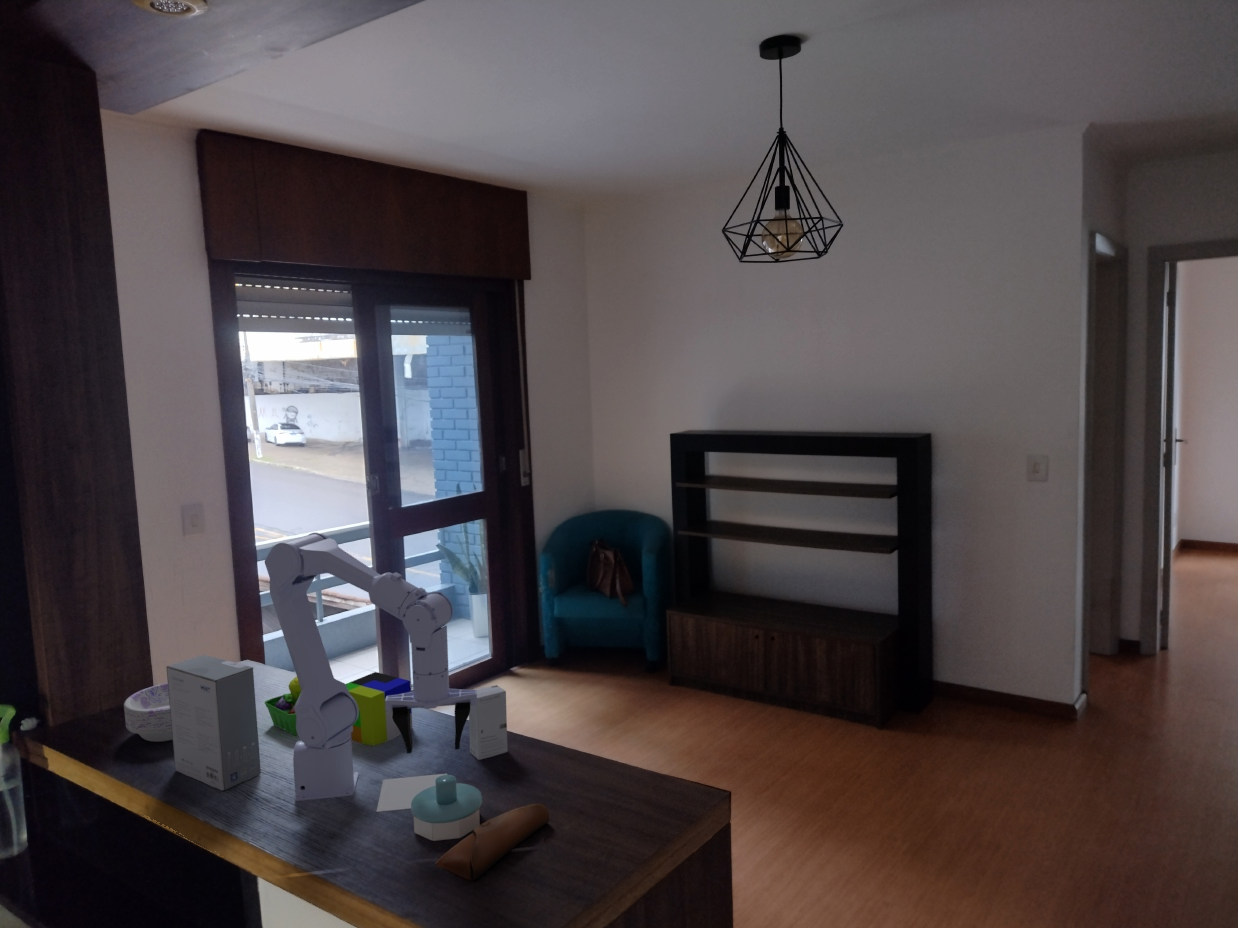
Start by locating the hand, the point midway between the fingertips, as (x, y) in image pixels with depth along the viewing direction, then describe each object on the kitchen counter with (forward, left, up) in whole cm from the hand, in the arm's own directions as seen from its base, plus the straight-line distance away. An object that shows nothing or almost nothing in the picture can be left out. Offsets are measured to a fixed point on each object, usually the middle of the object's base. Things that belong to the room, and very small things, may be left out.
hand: (433, 748), depth 141 cm
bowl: (+2, -7, -10) cm, 12 cm away
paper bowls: (-54, +40, -10) cm, 68 cm away
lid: (+2, -6, -7) cm, 9 cm away
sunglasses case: (+9, -14, -11) cm, 20 cm away
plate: (-4, +4, -10) cm, 11 cm away
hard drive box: (-39, +20, -10) cm, 45 cm away
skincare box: (+9, +17, -10) cm, 22 cm away
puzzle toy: (-13, +31, -10) cm, 36 cm away
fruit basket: (-29, +38, -10) cm, 49 cm away
